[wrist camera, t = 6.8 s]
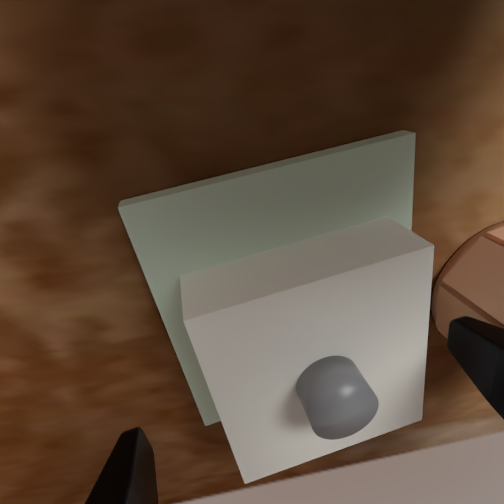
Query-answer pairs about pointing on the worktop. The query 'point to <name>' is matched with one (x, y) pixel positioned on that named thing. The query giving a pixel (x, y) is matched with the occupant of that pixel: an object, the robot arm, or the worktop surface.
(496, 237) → the bowl
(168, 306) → the mat
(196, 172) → the worktop surface
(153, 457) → the robot arm
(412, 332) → the cover
